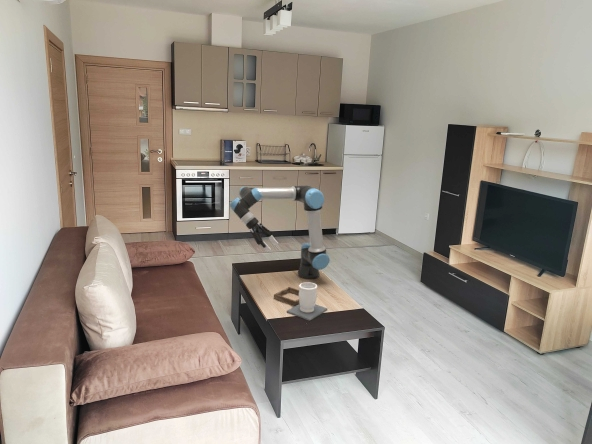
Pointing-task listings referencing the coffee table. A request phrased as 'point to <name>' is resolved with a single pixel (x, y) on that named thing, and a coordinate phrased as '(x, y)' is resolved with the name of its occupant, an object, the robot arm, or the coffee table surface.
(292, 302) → the collar
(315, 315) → the board
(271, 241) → the robot arm
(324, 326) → the coffee table surface
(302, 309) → the jar
